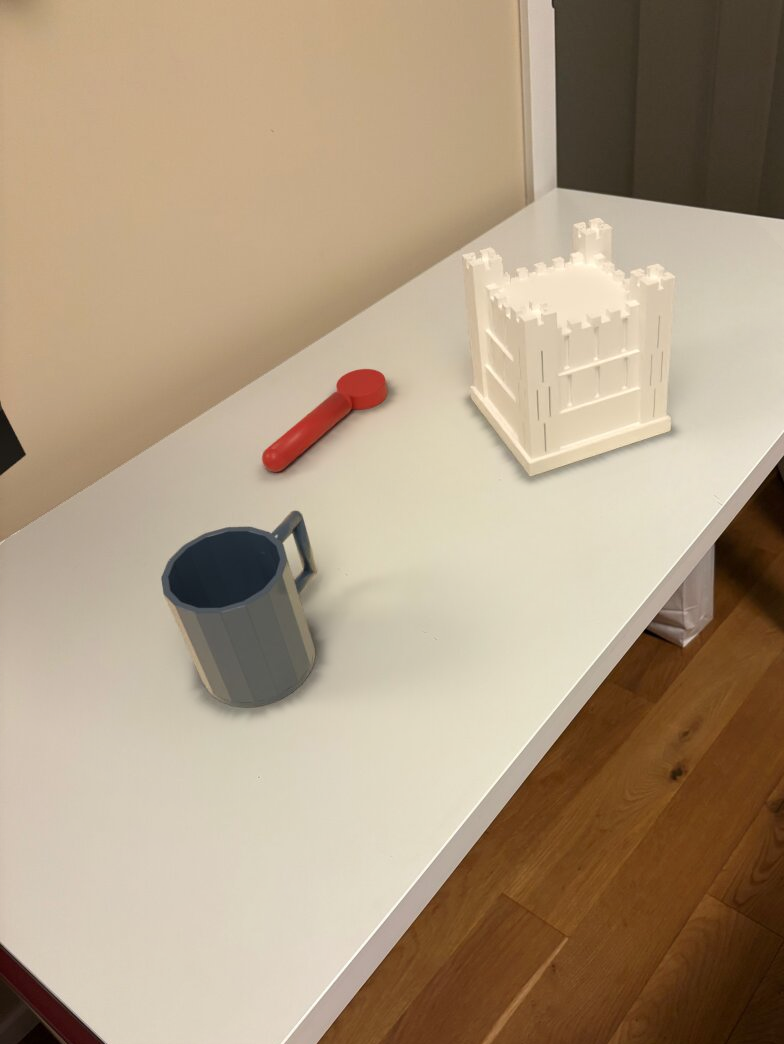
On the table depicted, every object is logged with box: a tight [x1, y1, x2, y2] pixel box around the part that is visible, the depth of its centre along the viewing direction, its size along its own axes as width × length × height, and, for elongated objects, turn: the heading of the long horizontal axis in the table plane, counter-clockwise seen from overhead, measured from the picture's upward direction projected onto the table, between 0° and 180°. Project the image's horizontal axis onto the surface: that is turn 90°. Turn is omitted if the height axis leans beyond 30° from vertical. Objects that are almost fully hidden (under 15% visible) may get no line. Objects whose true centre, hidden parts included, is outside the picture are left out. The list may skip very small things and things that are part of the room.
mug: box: [160, 509, 318, 708], centre depth 70 cm, size 13×9×10 cm, turn 153°
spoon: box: [261, 368, 388, 473], centre depth 93 cm, size 17×5×2 cm, turn 147°
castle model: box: [461, 217, 677, 477], centre depth 86 cm, size 14×14×15 cm
